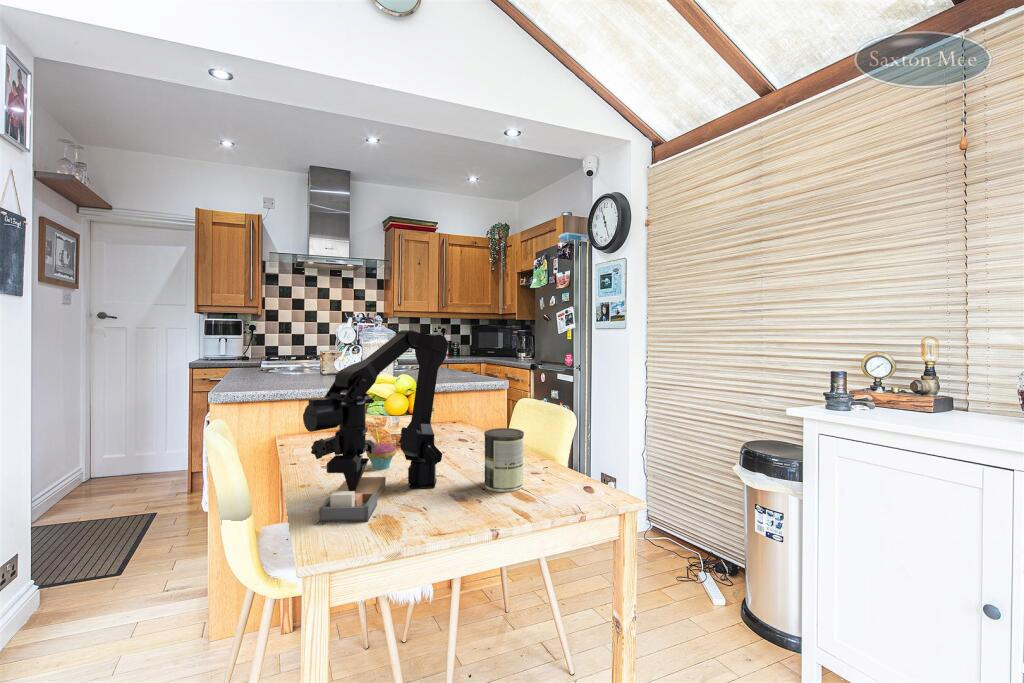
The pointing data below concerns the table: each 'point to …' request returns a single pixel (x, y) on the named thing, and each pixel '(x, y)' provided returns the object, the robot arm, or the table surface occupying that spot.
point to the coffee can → (503, 459)
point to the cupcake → (381, 454)
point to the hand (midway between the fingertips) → (352, 492)
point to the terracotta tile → (358, 499)
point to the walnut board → (367, 487)
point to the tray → (347, 511)
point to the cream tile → (342, 499)
